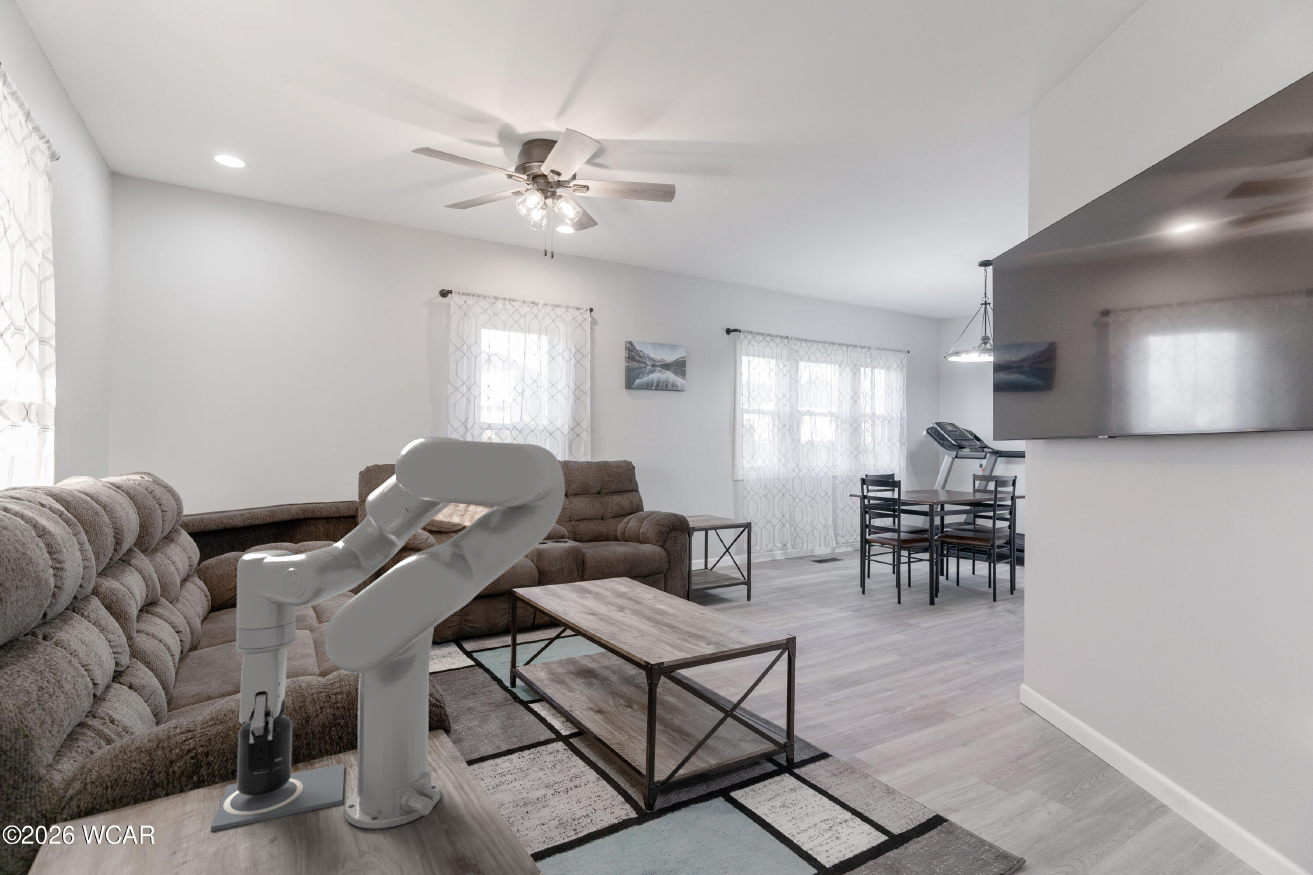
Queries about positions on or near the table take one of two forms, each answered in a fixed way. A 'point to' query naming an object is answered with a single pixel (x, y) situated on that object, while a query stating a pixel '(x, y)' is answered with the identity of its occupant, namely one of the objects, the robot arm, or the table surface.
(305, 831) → the table surface
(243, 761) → the supplement bottle
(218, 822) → the mat
